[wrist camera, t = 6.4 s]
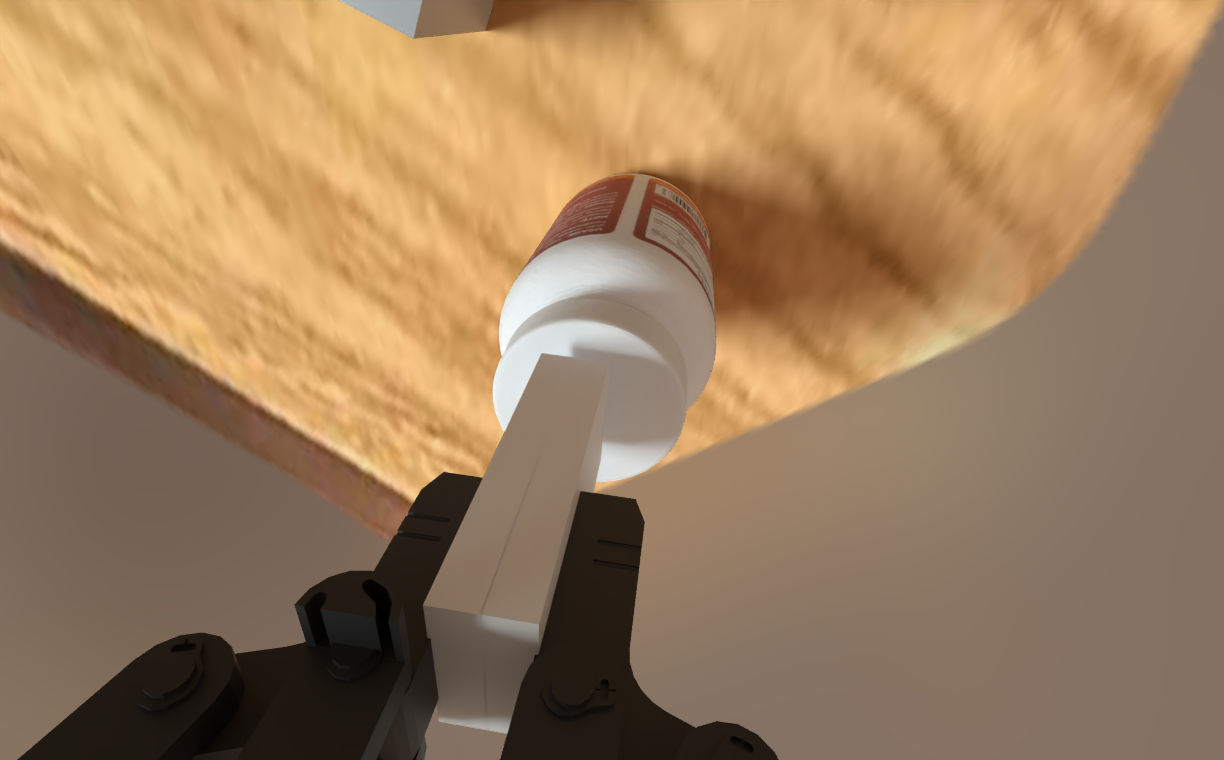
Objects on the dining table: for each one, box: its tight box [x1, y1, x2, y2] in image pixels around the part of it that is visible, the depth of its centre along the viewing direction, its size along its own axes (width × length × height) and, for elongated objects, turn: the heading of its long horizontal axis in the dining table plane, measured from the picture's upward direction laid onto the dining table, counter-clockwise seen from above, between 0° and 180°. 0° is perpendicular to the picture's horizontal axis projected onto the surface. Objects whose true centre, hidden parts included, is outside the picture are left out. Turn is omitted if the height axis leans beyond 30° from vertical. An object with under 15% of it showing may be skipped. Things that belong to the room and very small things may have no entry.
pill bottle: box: [493, 173, 716, 482], centre depth 19 cm, size 6×6×11 cm
